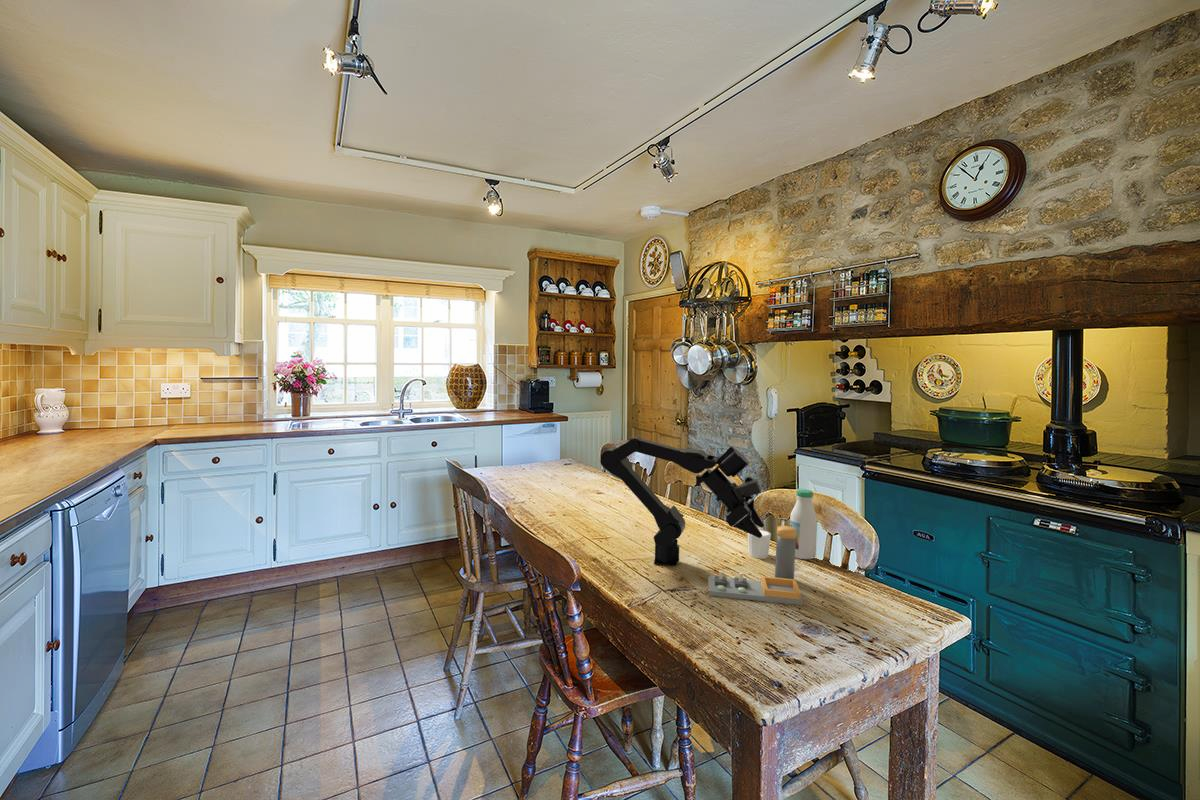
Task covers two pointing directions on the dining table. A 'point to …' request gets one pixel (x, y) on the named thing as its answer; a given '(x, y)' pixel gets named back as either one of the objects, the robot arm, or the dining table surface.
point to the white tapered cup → (759, 545)
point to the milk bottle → (804, 525)
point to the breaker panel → (756, 589)
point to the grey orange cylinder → (785, 552)
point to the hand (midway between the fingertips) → (762, 531)
